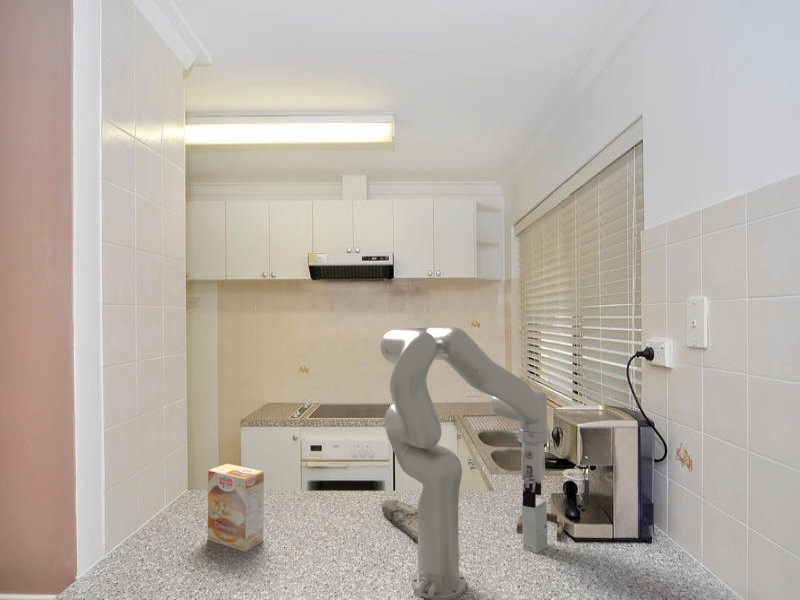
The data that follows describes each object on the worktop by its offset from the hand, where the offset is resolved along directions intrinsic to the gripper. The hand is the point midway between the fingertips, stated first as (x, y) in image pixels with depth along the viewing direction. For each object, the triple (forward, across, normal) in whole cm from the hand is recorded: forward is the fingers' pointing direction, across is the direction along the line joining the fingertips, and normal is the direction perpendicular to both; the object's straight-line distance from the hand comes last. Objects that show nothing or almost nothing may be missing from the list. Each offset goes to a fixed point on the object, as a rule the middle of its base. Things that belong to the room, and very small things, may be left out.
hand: (532, 500), depth 119 cm
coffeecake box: (+15, -31, +76) cm, 83 cm away
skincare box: (+13, +1, -1) cm, 13 cm away
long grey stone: (+14, -4, +33) cm, 36 cm away
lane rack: (+12, +13, -1) cm, 18 cm away
